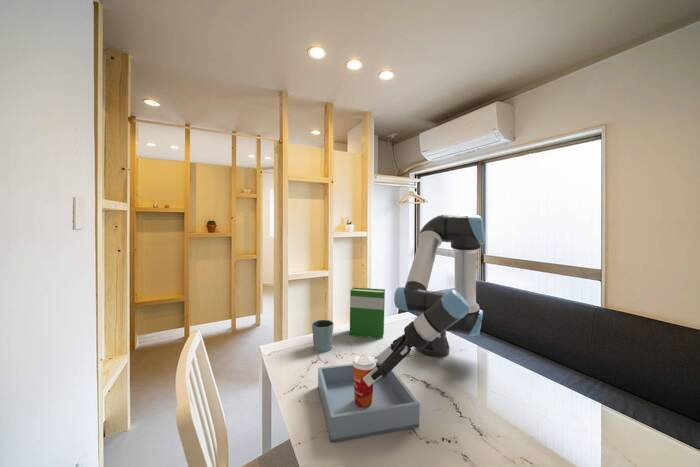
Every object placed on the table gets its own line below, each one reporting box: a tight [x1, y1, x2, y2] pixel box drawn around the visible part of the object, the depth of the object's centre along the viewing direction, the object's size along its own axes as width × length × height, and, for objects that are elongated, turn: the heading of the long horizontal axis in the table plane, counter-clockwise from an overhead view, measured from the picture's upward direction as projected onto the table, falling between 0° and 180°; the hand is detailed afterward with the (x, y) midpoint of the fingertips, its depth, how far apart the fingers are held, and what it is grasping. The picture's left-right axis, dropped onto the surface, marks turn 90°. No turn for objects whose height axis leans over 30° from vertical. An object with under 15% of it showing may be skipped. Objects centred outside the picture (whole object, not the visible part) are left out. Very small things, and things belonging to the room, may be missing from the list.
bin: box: [317, 360, 421, 444], centre depth 88 cm, size 26×26×7 cm
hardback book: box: [349, 287, 386, 339], centre depth 146 cm, size 18×7×24 cm, turn 79°
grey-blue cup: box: [311, 319, 334, 353], centre depth 128 cm, size 10×10×12 cm
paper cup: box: [351, 354, 376, 408], centre depth 88 cm, size 8×8×14 cm
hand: (372, 370), depth 86 cm, fingers open, 13 cm apart
